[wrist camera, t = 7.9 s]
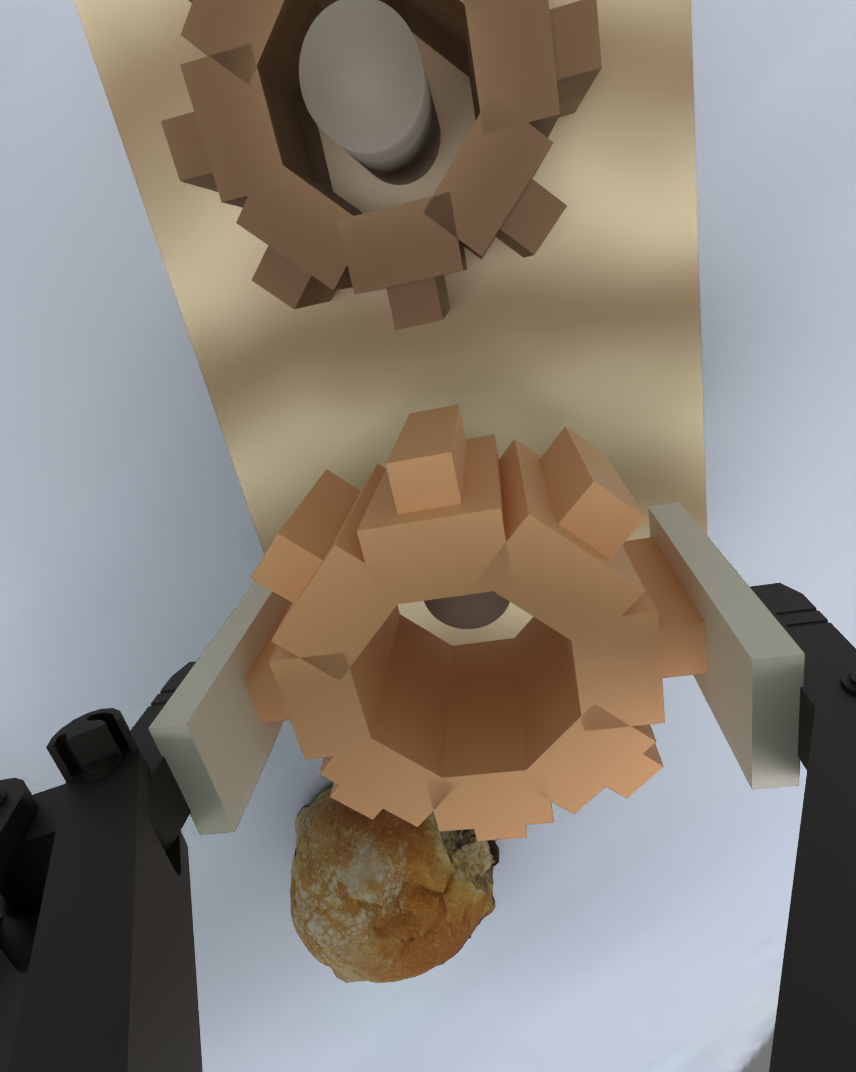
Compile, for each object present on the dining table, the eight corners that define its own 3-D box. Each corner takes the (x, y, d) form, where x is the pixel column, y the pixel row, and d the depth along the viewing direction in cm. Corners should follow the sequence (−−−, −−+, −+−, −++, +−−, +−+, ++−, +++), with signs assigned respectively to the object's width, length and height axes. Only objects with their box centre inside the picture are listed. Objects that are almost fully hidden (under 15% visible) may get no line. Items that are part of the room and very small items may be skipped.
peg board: (692, 600, 25) (782, 741, 17) (318, 650, 27) (258, 791, 20) (658, -212, 15) (818, -646, 8) (97, -25, 18) (-169, -228, 11)
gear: (637, 366, 14) (711, 414, 10) (659, 694, 18) (720, 842, 13) (253, 439, 16) (159, 511, 11) (348, 728, 19) (306, 871, 15)
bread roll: (344, 711, 33) (232, 817, 27) (521, 787, 28) (437, 937, 22) (351, 841, 37) (255, 960, 31) (507, 926, 32) (432, 1088, 26)
